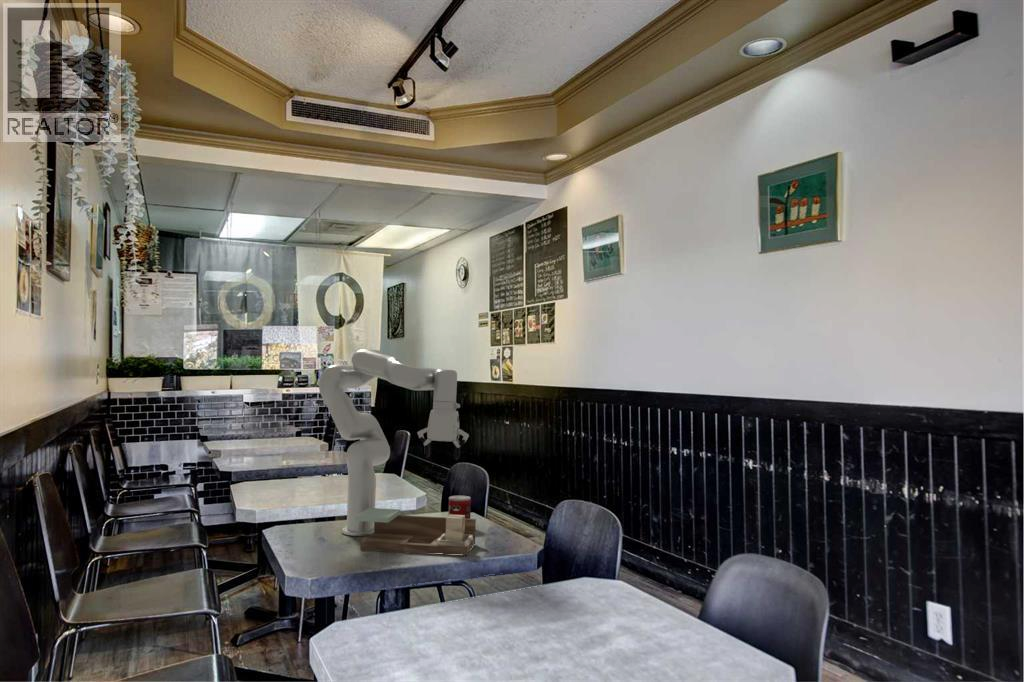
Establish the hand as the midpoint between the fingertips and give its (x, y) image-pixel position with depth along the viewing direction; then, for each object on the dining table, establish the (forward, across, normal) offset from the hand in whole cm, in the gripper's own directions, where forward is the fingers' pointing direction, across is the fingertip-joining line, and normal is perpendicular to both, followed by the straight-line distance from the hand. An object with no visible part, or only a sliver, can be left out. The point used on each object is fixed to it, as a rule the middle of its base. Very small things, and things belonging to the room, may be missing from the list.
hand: (441, 458), depth 217 cm
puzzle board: (+28, +4, +8) cm, 29 cm away
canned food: (+28, -2, -22) cm, 36 cm away
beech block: (+25, -7, +8) cm, 27 cm away
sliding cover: (+19, +19, +6) cm, 28 cm away
